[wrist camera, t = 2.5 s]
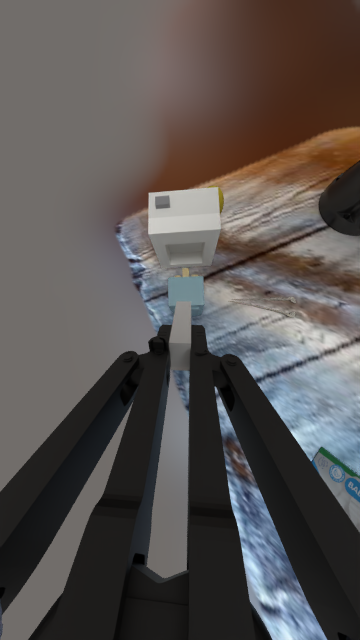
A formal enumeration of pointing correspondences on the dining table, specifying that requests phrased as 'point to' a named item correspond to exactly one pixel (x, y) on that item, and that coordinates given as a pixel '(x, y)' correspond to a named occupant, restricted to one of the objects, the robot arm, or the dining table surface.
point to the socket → (184, 226)
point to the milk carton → (340, 483)
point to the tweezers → (271, 299)
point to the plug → (186, 291)
